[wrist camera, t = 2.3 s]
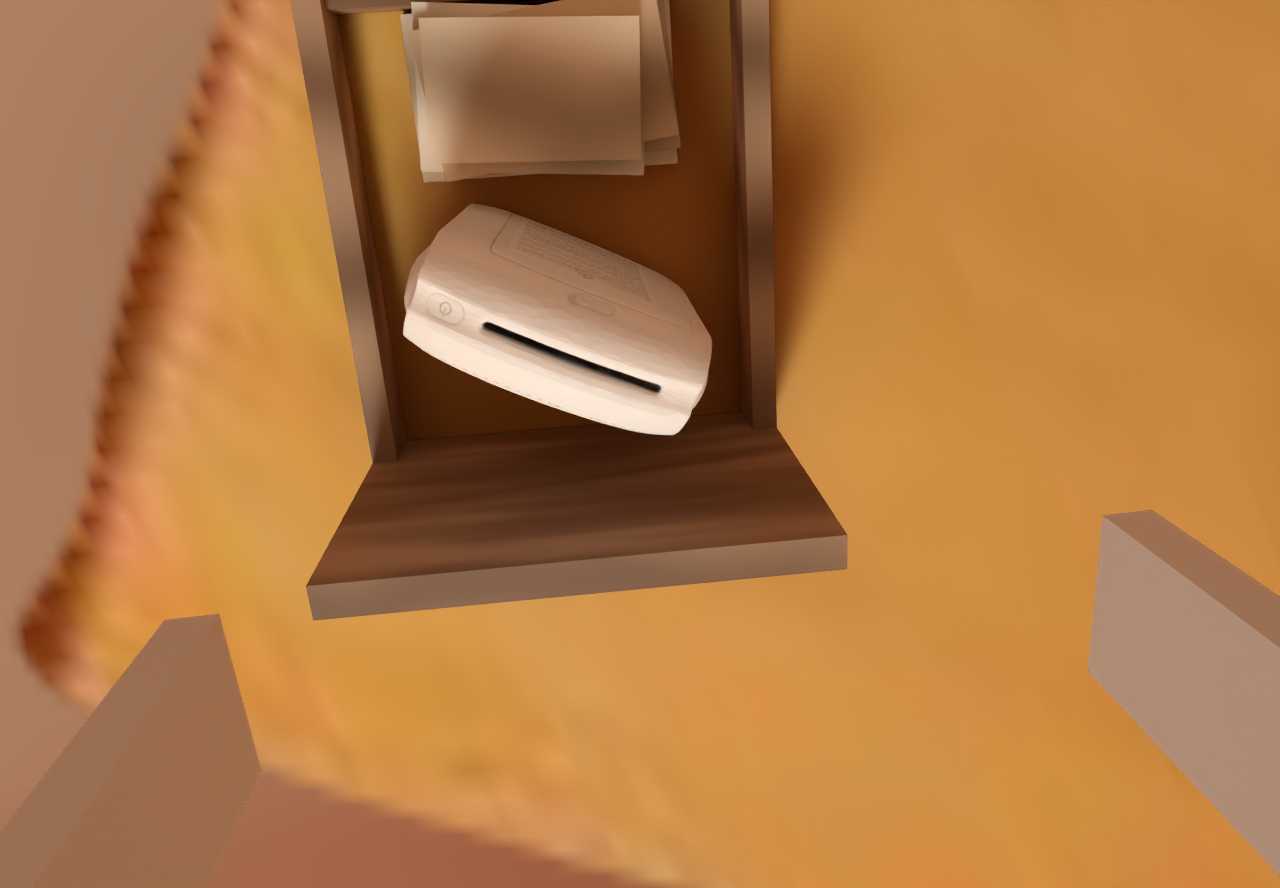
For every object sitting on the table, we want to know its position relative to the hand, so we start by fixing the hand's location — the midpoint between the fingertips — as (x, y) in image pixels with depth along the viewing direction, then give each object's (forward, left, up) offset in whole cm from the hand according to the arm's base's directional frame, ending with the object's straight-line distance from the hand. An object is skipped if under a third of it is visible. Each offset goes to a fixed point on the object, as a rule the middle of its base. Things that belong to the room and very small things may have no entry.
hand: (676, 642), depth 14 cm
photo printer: (-1, -2, -27) cm, 27 cm away
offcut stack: (-8, -2, -27) cm, 28 cm away
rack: (-2, -2, -27) cm, 27 cm away
